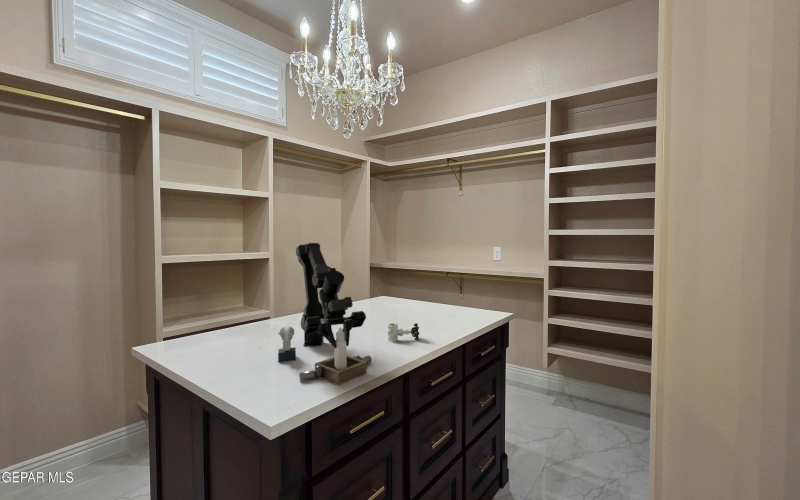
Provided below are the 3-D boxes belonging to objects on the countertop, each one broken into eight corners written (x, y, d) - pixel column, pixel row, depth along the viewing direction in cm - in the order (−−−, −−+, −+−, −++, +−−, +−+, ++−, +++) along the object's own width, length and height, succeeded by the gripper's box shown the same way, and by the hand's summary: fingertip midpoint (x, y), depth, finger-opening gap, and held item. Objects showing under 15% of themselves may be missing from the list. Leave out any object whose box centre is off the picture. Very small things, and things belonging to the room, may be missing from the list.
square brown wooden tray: (338, 385, 98) (338, 373, 98) (314, 375, 105) (314, 363, 105) (366, 373, 106) (366, 361, 106) (342, 364, 113) (342, 353, 113)
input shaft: (359, 369, 109) (359, 358, 109) (351, 366, 111) (351, 355, 111) (373, 363, 114) (373, 353, 114) (365, 361, 116) (365, 350, 116)
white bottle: (330, 370, 103) (330, 330, 103) (336, 363, 109) (335, 325, 108) (345, 371, 103) (344, 330, 102) (349, 363, 108) (349, 325, 108)
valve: (388, 343, 135) (419, 342, 137) (388, 326, 134) (419, 325, 136) (386, 338, 141) (415, 337, 143) (386, 322, 141) (415, 321, 143)
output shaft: (320, 375, 105) (320, 363, 105) (322, 379, 102) (322, 367, 101) (299, 378, 102) (298, 366, 102) (300, 383, 99) (300, 371, 99)
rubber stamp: (295, 354, 123) (295, 323, 122) (295, 362, 115) (295, 329, 115) (279, 355, 121) (278, 324, 121) (277, 364, 114) (277, 331, 113)
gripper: (305, 290, 103) (315, 337, 94) (363, 286, 112) (378, 328, 103) (300, 311, 111) (308, 356, 102) (355, 305, 120) (367, 346, 111)
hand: (341, 346), depth 104 cm, fingers closed on white bottle, 3 cm apart
